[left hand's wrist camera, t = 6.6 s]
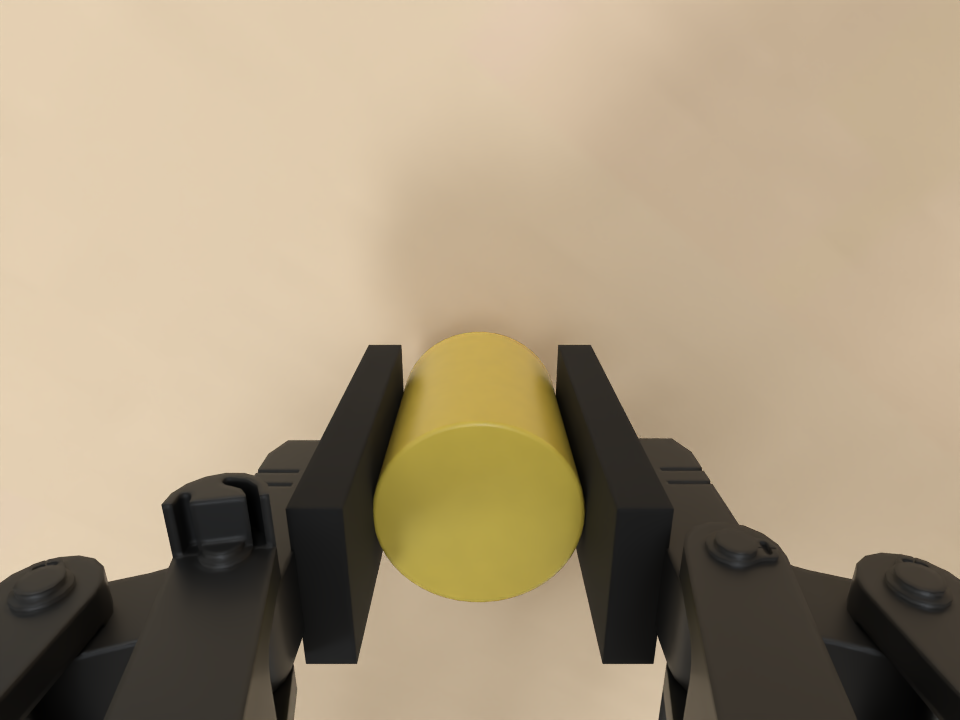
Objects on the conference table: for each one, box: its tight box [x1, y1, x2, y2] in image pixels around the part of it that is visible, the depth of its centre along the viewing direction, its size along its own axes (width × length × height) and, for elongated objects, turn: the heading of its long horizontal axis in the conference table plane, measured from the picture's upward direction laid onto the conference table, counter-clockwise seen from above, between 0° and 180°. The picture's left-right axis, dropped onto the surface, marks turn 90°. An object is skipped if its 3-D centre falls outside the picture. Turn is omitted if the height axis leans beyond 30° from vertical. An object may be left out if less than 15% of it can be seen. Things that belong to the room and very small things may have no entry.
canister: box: [373, 332, 585, 602], centre depth 13 cm, size 4×4×5 cm
